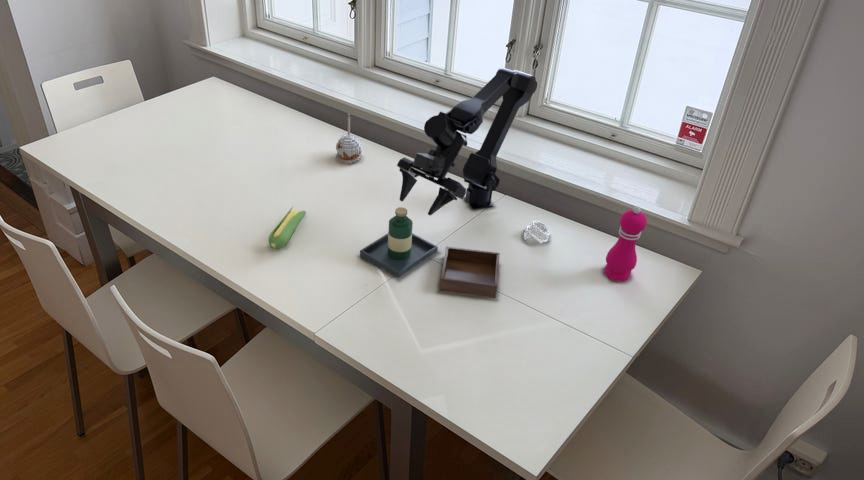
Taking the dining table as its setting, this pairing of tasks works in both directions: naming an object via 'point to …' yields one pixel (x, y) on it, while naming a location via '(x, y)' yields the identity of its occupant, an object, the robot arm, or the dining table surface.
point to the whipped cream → (537, 232)
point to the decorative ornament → (348, 147)
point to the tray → (380, 258)
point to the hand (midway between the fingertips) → (414, 207)
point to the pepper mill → (625, 246)
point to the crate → (470, 272)
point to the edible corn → (285, 229)
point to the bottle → (400, 235)
